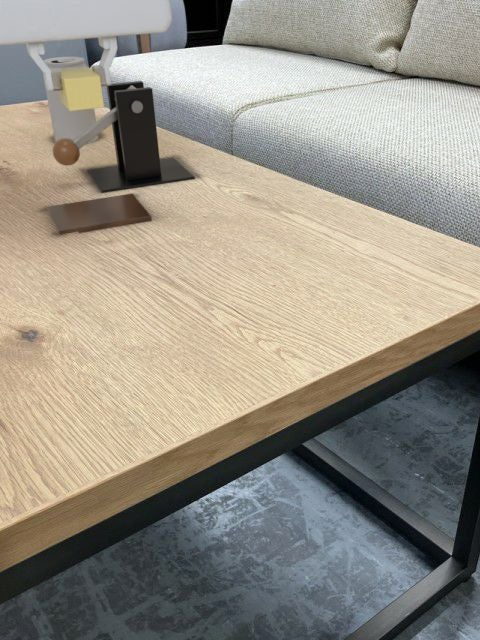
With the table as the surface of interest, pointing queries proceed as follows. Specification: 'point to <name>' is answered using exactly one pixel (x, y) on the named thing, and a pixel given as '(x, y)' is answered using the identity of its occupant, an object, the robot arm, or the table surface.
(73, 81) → the butter
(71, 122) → the beverage can
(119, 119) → the black lever stand
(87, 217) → the board
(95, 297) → the table surface
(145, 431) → the table surface
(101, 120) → the arm
